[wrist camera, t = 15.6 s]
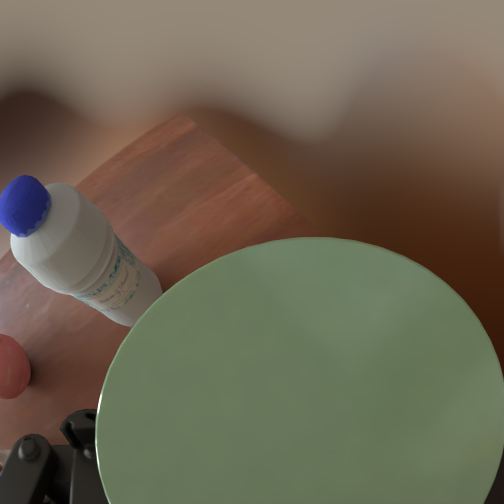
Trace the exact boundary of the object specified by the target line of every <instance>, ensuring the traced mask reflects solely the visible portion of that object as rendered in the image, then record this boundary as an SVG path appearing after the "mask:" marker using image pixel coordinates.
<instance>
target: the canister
mask: <svg viewBox="0 0 504 504" xmlns="http://www.w3.org/2000/svg"><path fill="white" fill-rule="evenodd" d="M95 447H96V456H97V464H98V470H99V474H100V478H101V482H102V485H103V489H104V492H105V495H106V497H107V500H108V502H109V504H484V502H485V500H486V498H487V496H488V494H489V492H490V489H491V487H492V485H493V483H494V480H495V477H496V474H497V471H498V468H499V465H500V462H501V458H502V454H503V449H504V380H503V375H502V371H501V367H500V364H499V360H498V358H497V355H496V353H495V350H494V348H493V345H492V343H491V340H490V338H489V337H488V335H487V333H486V331H485V329H484V328H483V326H482V324H481V323H480V321H479V319H478V318H477V317H476V315H475V314H474V313H473V311H472V310H471V309H470V307H469V306H468V305H467V304H466V302H465V301H464V300H463V299H462V298H461V297H460V296H459V295H458V294H457V293H456V292H455V291H454V290H453V289H452V288H451V287H450V286H449V285H448V284H447V283H446V282H444V281H443V280H442V279H440V278H439V277H437V276H436V275H435V274H433V273H432V272H431V271H429V270H428V269H426V268H425V267H423V266H421V265H419V264H418V263H416V262H414V261H412V260H410V259H408V258H407V257H405V256H403V255H400V254H397V253H395V252H392V251H390V250H387V249H385V248H382V247H379V246H375V245H371V244H367V243H363V242H359V241H355V240H347V239H339V238H331V237H300V238H291V239H283V240H275V241H270V242H266V243H262V244H258V245H254V246H250V247H246V248H244V249H241V250H238V251H235V252H233V253H230V254H227V255H225V256H222V257H220V258H218V259H216V260H214V261H212V262H210V263H208V264H206V265H204V266H202V267H200V268H199V269H197V270H195V271H194V272H192V273H191V274H189V275H188V276H186V277H185V278H183V279H182V280H180V281H179V282H177V283H176V284H174V285H173V286H172V287H171V288H170V289H169V290H167V291H166V292H165V293H164V294H163V295H162V296H161V297H159V298H158V299H157V300H156V301H155V302H154V303H153V304H152V305H151V306H150V307H149V308H148V309H147V310H146V312H145V313H144V314H143V315H142V316H141V317H140V318H139V320H138V321H137V322H136V323H135V324H134V326H133V327H132V329H131V330H130V332H129V333H128V335H127V336H126V338H125V339H124V341H123V342H122V344H121V345H120V347H119V349H118V351H117V353H116V355H115V357H114V359H113V361H112V363H111V365H110V367H109V369H108V372H107V375H106V378H105V381H104V384H103V387H102V390H101V393H100V398H99V404H98V410H97V415H96V430H95Z"/></svg>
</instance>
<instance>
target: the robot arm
mask: <svg viewBox="0 0 504 504" xmlns="http://www.w3.org/2000/svg"><path fill="white" fill-rule="evenodd" d="M96 415H97V410H95V409H83V410H79V411H76V412H74V413H72V414H71V415H69V416H68V417H67V418H66V419H65V420H64V421H63V422H62V425H61V427H60V430H61V432H62V433H63V435H64V436H65V438H66V439H67V440H68V442H69V443H70V445H56V446H51V445H50V444H49V442H48V441H47V440H46V439H45V437H43V436H41V435H39V434H29V435H26V436H23V437H22V438H21V439H19V440H18V441H17V442H16V444H15V445H14V446H13V448H12V450H11V452H10V454H9V456H8V458H7V460H6V462H5V464H4V466H3V468H2V470H1V472H0V504H109V502H108V500H107V497H106V495H105V492H104V489H103V485H102V482H101V478H100V474H99V470H98V464H97V456H96V447H95V430H96ZM45 496H46V497H45ZM484 504H504V449H503V454H502V458H501V462H500V465H499V468H498V471H497V474H496V477H495V480H494V483H493V485H492V487H491V489H490V492H489V494H488V496H487V498H486V500H485V502H484Z"/></svg>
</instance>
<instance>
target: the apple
mask: <svg viewBox="0 0 504 504" xmlns="http://www.w3.org/2000/svg"><path fill="white" fill-rule="evenodd" d="M30 374H31V371H30V364H29V360H28V358H27V355H26V354H25V352H24V350H23V349H22V347H21V346H20V345H19V344H18V343H17V342H16V341H15V340H14V339H13V338H11V337H9V336H6V335H3V334H0V399H12V398H15V397H17V396H18V395H20V394H21V393H22V392H23V391H24V389H25V388H26V387H27V385H28V382H29V380H30Z"/></svg>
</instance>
